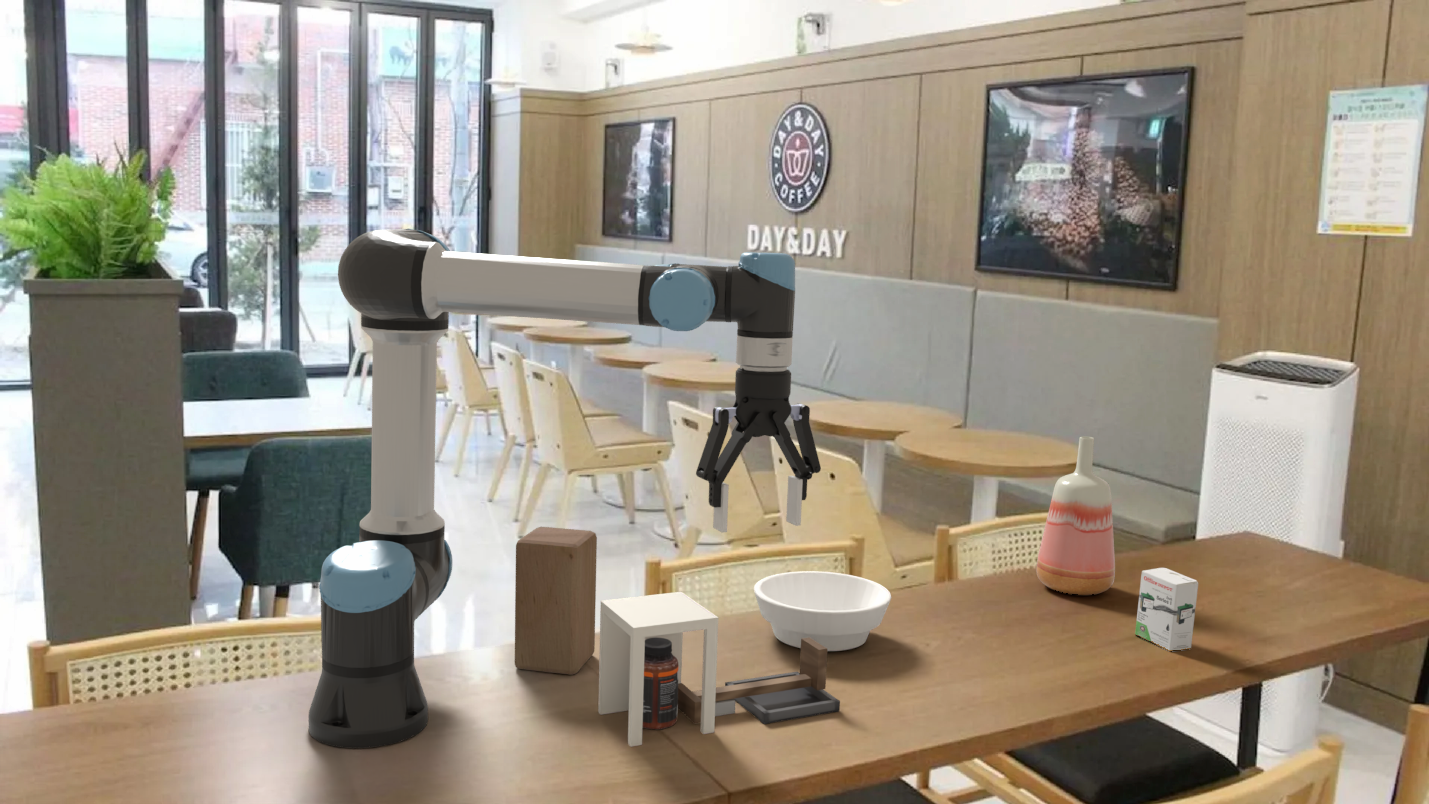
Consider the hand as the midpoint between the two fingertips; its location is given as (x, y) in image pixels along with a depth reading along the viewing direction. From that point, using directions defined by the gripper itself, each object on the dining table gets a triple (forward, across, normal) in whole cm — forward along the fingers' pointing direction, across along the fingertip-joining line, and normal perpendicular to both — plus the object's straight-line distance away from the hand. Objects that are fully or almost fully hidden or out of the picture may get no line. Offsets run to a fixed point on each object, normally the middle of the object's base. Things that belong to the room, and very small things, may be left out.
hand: (757, 526), depth 165 cm
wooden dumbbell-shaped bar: (+25, 0, 0) cm, 25 cm away
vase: (+26, +85, +28) cm, 93 cm away
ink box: (+26, +78, -1) cm, 82 cm away
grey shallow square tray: (+26, +5, 0) cm, 26 cm away
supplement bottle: (+26, -14, 0) cm, 30 cm away
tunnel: (+26, -12, 0) cm, 28 cm away
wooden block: (+26, -20, +26) cm, 42 cm away
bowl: (+26, +24, +21) cm, 41 cm away
